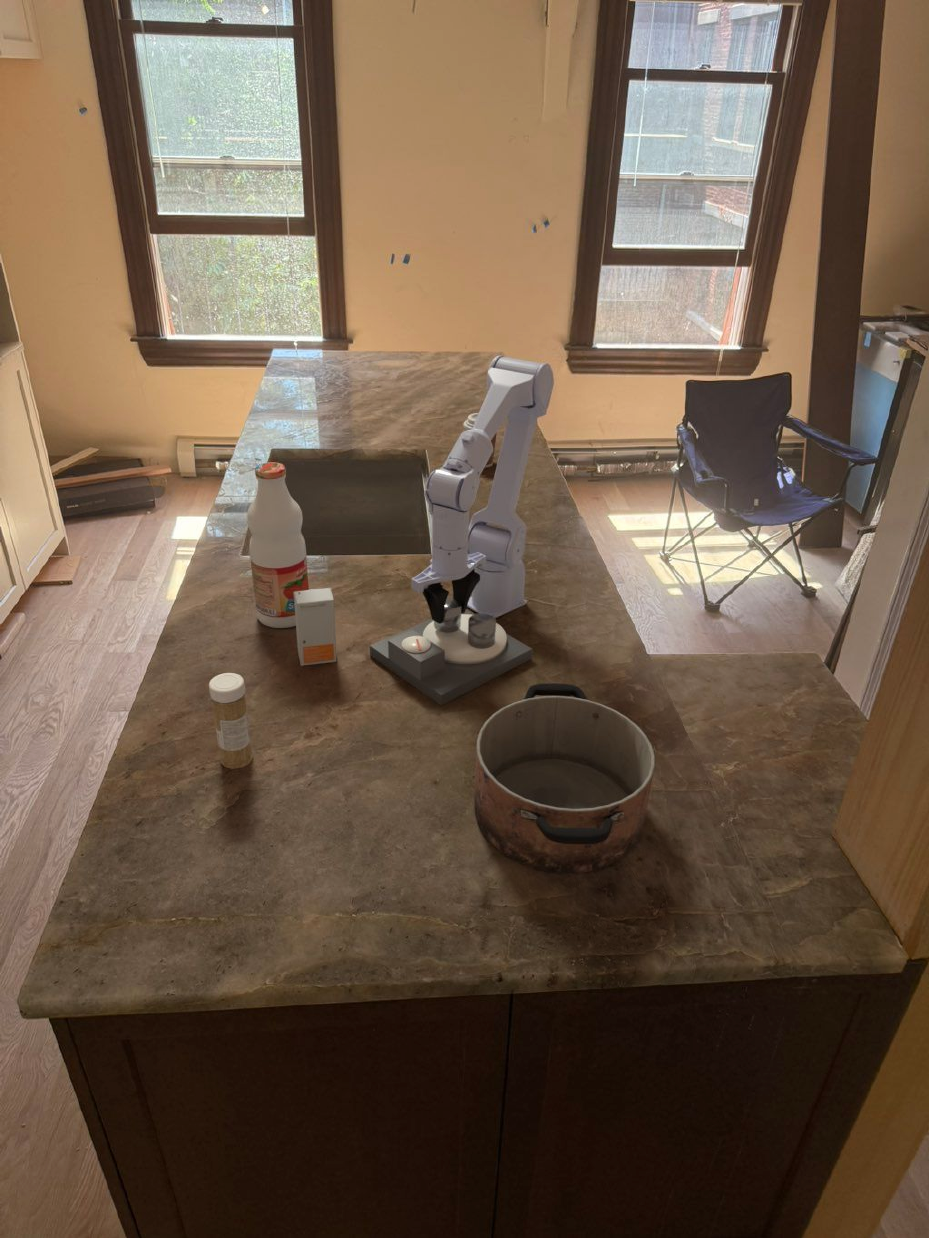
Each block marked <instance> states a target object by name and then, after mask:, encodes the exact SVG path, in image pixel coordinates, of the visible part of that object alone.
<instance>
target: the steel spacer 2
mask: <svg viewBox="0 0 929 1238" xmlns="http://www.w3.org/2000/svg"><path fill="white" fill-rule="evenodd" d="M496 623H497V619H496V618H494V617H493V616H491V615H488V614H479V613H476V614H474V615H472V616H471V617H470V618H469V621H468V643H469V645H471V646H472V647H475V648H479V649H485V648H490V647H492V646H493V645H494V644H495V632H496Z"/></svg>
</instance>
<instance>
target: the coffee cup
mask: <svg viewBox="0 0 929 1238" xmlns="http://www.w3.org/2000/svg"><path fill="white" fill-rule="evenodd" d="M478 413H479V412H475V413H471V414H469V415H468V416H467V419H466V420H465V421H464V422H463V424H462V425H463V428H464V429H465V431H466V430H471V429H472V427H473V425H474V423H475V420H476V418H477V416H478ZM499 430H501V429H500V428H499V429H498V431H499ZM498 431H497V432H496V434H495V435H494V437H493V438H492V440H491V443H492V445H493V452H492V454H491V456H490V458H489V460H488V462H487V463H486V465H485V467H484V469H486V468H490V467H492V466H493V464H494V457H495V449H496V443H497V442H496V441H497V434H498Z"/></svg>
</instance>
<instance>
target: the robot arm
mask: <svg viewBox="0 0 929 1238" xmlns="http://www.w3.org/2000/svg"><path fill="white" fill-rule="evenodd" d="M553 371H554V370H553V369H552V367H551V365H550V364H549V363H546V362H543V363H542V362H535V361H529V360H525V359H519V358H513V357H506V356H504V355H497V356H495V357H494V358H493V360H491V362H490V364H489V366H488V370H487V374H486V391H487V394H486V396H485V398H484V400H483V403H482V405H481V407H480V409H479V412H477V413H478V416H477V418H476V420H475V423H474V425H473V427H472V429H471V430H466V429H465V430H463V431H462V432H461V434H460V435H459V437H458V438H457V440H456V442H455V444H454V445H453V447H452V450H451V451H450V452H449V454H448V457H446V460H445V462H444V463H443V465H442V466H441V467H439V468H438V469H434V470H433V471H431V473H430V474H429V476H428V479H427V482H426V485H425V490H424V496H425V497H424V498H425V500H426V501H427V503H428V512H429V514H430V515H431V517H432V518H431V519H432V523H431V524H432V529H431V531H432V533H431V534H432V535H431V536H432V537H431V540H432V541H431V544H432V548H431V549H432V550H431V553H432V554H431V559H429V565H428V566H427V567H426V568H425V569H423V571H422V572H420V573H419V574H418V575H415V576H414V577H412V578H411V579H410V582H411V584H410V588H411V590H412V591H413V592H416V593H417V594H422V595H423V596H424V598H425V601H426V603H427V606H428V609H429V612H430V617H431V619H432V620H434V621H435V622H437V623H439V624H441V623H443V620H444V608H445V603H446V599H447V598H448V596H449V594H450V591H449V590H447V589H446V588H444V587H443V586H444V585H442V583H447V582H450V581H451V584H452V599H455V600H458V601H459V602H460V603H461V605H462V606H461V613H462V614H463V613H465V611H466V610H467V608H469V609H470V610H472V611H474V612H475V613H476V614H488V615H491V616H493V617H494V618H495V619H496V618H500V616H501V617H502V616H503V615H505V614H507V613H510V612H512V611H515V610H516V609H518V608H520V607H523V606H524V605H527V602H528V601H527V600H526V599H525V597H524V596H525V587H526V586H525V585H526V584H525V583H526V568H525V565H524V563H523V560H522V559H523V557H524V554H525V550H526V535H527V529H528V527H527V526H526V524H525V523H524V521H523V520H522V519H521V518H520V516H519V515H518V513H517V512H516V509H517V505H518V500H519V497H520V492H521V489H522V488H521V487H522V483H523V480H524V475H525V472H526V468H527V463H528V459H529V456H530V455H529V454H530V451H531V447H532V443H533V438H534V433H535V429H536V426H537V422H538V418H540V417H541V418H542V417H544V416H546V415H547V411H548V408H549V406H550V401H551V397H552V393H553V390H554V384H555V379H554V372H553ZM506 419H507V422H506V425H505V430H504V434H503V438H502V442H501V446H500V451H499V454H498V459H497V463H496V468H495V473H494V475H493V476H494V477H493V481H492V485H491V489H490V494H489V496H488V502H487V506H486V507H485V508H483V509H480V510H479V511H477V512H475V513H474V514H472V517H471V518H470V509H471V508H472V506H473V505H474V504H475V501H476V498H477V495H478V489H479V486H480V483H481V478H480V476H481V474H482V473H483V470H484V469H485V468H484V467H485V465H486V463H487V462H488V460H489V458H490V456H491V454H492V452H493V445H492V443H491V440H492V438H493V437H494V435H495V434H496V432H497V433H498V431H499V430H500V429H499V428H500V427H502V425H503V423H504V422H505V421H506ZM498 429H499V430H498ZM490 524H492V525H490ZM493 525H495V526H493ZM497 526H500V527H503V528H500V527H497ZM504 528H506V529H504Z"/></svg>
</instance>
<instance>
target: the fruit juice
mask: <svg viewBox="0 0 929 1238" xmlns="http://www.w3.org/2000/svg"><path fill="white" fill-rule="evenodd" d="M254 475H255V479H256V480H257V491H256V494H255V499H254V500H253V502H252V503H251V504H250V505H249V506H248V510H247V512H246V523H247V526H248V527H247V528H249V532H250V534H251V537H250V539H249V559H250V568H251V575H252V585H253V593H254V602H255V603H254V604H255V612H256V616H257V618H258V620H259V622H260V623H261V624H262V625H263V626H266V627H270V628H274V629H286V628H287V629H288V628H293V627H296V619H295V604H294V593H293V592H295V591H305V590H310V589H309V588H310V587H309V577H308V576H309V574H308V561H307V560H308V558H307V549H306V547H307V546H306V541H305V538H304V536H303V533H302V531H301V530H302V526H303V520H304V519H303V511H302V509H301V507H300V506H299V504H298V503H297V501H296V500H295V499H293V497H292V496H291V494H290V492H289V490H288V487H287V483H286V480H285V479H286V477H287V470H286V466H285V465H284V464H283V463H280V462H275V461H274V462H273V461H272V462H264V463H260V464H257V465H256V466H255V468H254Z"/></svg>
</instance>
